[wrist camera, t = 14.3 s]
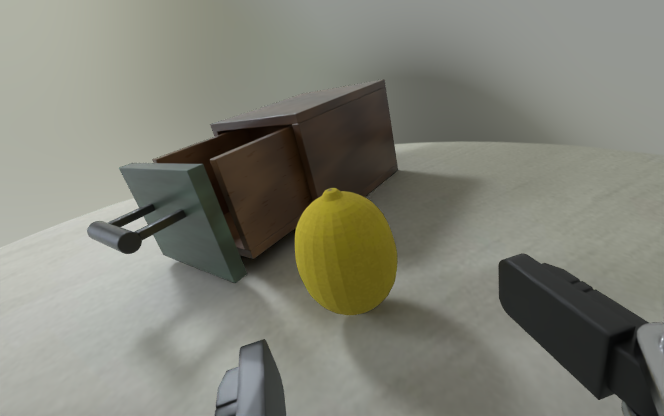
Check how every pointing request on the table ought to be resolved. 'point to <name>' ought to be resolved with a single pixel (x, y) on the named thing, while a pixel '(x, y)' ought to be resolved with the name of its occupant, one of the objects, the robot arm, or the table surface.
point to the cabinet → (333, 135)
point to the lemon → (345, 252)
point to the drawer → (215, 200)
